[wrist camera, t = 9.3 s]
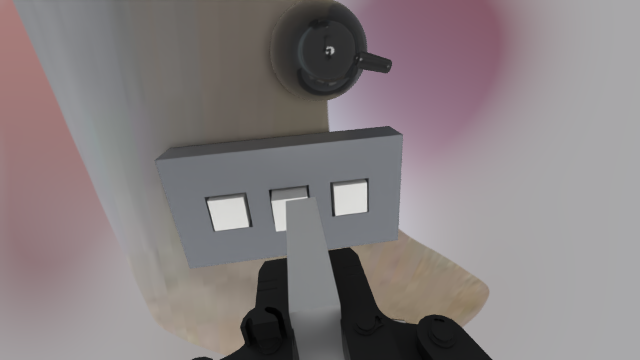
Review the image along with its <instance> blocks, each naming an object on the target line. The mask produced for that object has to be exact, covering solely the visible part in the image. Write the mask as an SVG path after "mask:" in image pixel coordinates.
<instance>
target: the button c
mask: <svg viewBox="0 0 640 360" xmlns="http://www.w3.org/2000/svg"><path fill="white" fill-rule="evenodd" d="M330 190H331V204H332V207H333V210H334V213H335V216H338V215H346V214H354V213H362V212H367V182H366V180H365V179H356V180H347V181H338V182H330Z"/></svg>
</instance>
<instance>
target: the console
mask: <svg viewBox="0 0 640 360" xmlns="http://www.w3.org/2000/svg"><path fill="white" fill-rule="evenodd" d="M402 141H403V134H401V133H399V132H398V131H396V130H395V129H393V128H391V127H390V126H385V127H375V128H365V129H355V130H346V131H335V132H326V133H316V134H306V135H296V136H286V137H276V138H266V139H256V140H246V141H237V142H227V143H217V144H207V145H197V146H187V147H177V148H170V149H169V150H167V151H166V152H165V153H164V154H162V155H161V156H160V157H158V158H157V159H156V160H155V163H156V166H157V169H158V172H159V175H160V179H161V182H162V185H163V188H164V191H165V194H166V197H167V200H168V203H169V206H170V209H171V212H172V215H173V218H174V221H175V224H176V227H177V230H178V234H179V237H180V240H181V243H182V246H183V249H184V252H185V255H186V258H187V261H188V264H189V267H190V268H198V267H205V266H212V265H219V264H227V263H234V262H241V261H248V260H256V259H263V258H270V257H277V256H285V255H287V232H286V230H285V231H277V232H276V227H275V221H274V215H273V209H272V202H271V198H272V189H279V188H287V187H296V186H304V185H305V186H306V191H307V196H308V198H312V197H315V198H316V202H317V206H318V211H319V215H320V219H321V224H322V228H323V232H324V236H325V241H326V245H327V249H335V248H343V247H350V246H357V245H364V244H372V243H379V242H386V241H393V240H398V224H399V203H400V182H401V163H402V143H403V142H402ZM356 179H365V180H366V182H367V212H362V213H354V214H346V215H338V216H335V213H334V210H333V207H332V204H331V190H330V182H338V181H347V180H356ZM244 192H246V194H247V199H248V204H249V209H250V214H251V220H250V225H249V227H244V228H236V229H228V230H220V231H215V229H214V225H213V221H212V217H211V214H210V210H209V206H208V202H207V201H208V199H209V197H210V196H219V195H227V194H236V193H244Z"/></svg>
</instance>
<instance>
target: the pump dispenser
mask: <svg viewBox="0 0 640 360" xmlns="http://www.w3.org/2000/svg"><path fill="white" fill-rule="evenodd" d="M270 58H271V63H272V67H273V70H274V72H275V74H276V76H277V78H278V79H279V81H280V82H281V84H282V85H283V86H284V87H285V88H286V89H287V90H288V91H289V92H291V93H292V94H294V95H295V96H297V97H299V98H302V99H305V100H309V101H326V100H330V99H333V98H336V97H338V96H340V95H342V94H344V93H345V92H347V91H348V90H349V89H350V88H351V87H352V86H353V85H354V84H355V83H356V81H357V80H358V79H359V77H360V75H361V73H362V71H363V69H364V70H370V71H376V72H382V73H388V72H389V71H390V69H391V66H392V61H391V60H389V59H386V58H383V57H380V56H377V55H374V54H371V53H368V52H367V41H366V36H365V32H364V30H363V28H362V25H361V23H360V22H359V20H358V19H357V17H356V16H355V15H354V14H353V13H352V12H351V11H350V10H349V9H348V8H347V7H345V6H344V5H342V4H341V3H339V2H336V1H334V0H303V1H300V2H298V3H296V4H294V5H293V6H291V7H290V8H289V9H287V10H286V11H285V12H284V13H283V14H282V16H281V17H280V18H279V20H278V21H277V23H276V25H275V27H274V30H273V33H272V36H271V41H270Z"/></svg>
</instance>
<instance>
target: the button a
mask: <svg viewBox="0 0 640 360" xmlns="http://www.w3.org/2000/svg"><path fill="white" fill-rule="evenodd" d="M207 202H208V206H209V210H210V214H211V217H212V221H213V225H214V229H215V231H220V230H228V229H236V228H244V227H249V225H250V220H251V214H250V209H249V204H248V199H247V194H246V192H244V193H236V194H227V195H219V196H210V197H209V199H208V201H207Z"/></svg>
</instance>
